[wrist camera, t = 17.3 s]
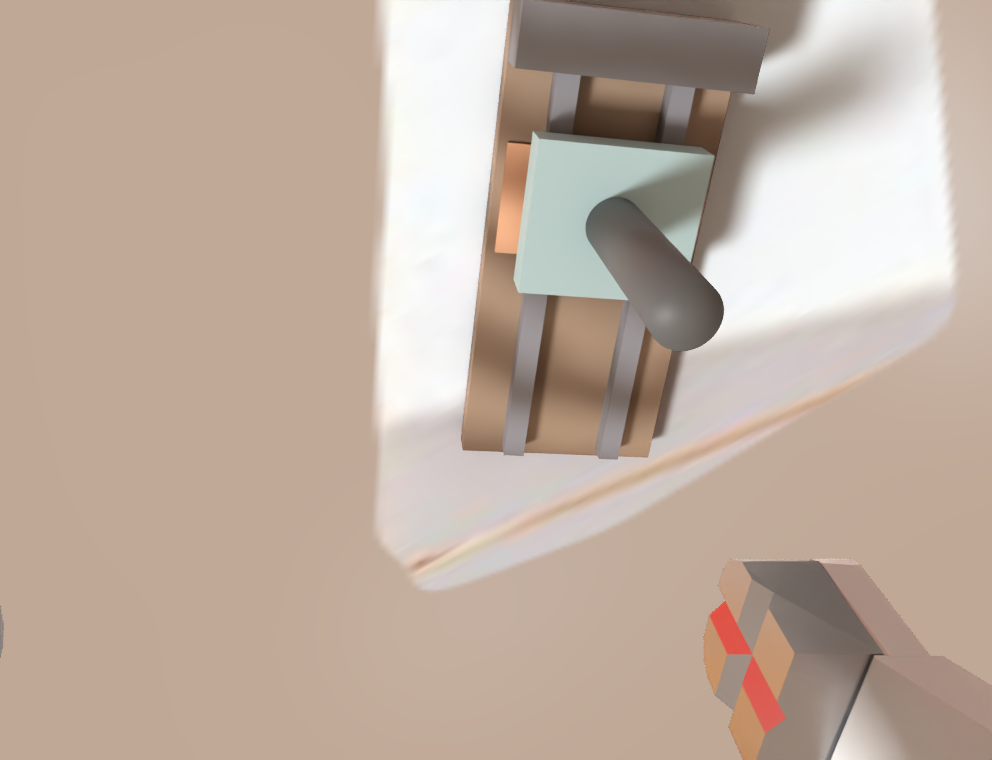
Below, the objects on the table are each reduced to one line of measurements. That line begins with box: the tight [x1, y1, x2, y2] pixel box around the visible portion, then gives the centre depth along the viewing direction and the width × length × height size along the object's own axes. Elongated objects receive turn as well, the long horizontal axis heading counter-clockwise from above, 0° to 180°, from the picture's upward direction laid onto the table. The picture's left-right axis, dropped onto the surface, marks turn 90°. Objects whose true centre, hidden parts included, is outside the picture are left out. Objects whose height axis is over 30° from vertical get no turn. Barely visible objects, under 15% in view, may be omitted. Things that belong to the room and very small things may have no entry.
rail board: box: [461, 0, 770, 459], centre depth 48 cm, size 26×12×4 cm, turn 173°
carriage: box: [513, 131, 724, 351], centre depth 39 cm, size 8×9×14 cm
